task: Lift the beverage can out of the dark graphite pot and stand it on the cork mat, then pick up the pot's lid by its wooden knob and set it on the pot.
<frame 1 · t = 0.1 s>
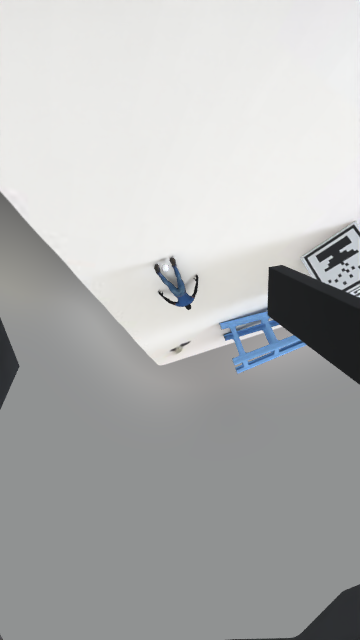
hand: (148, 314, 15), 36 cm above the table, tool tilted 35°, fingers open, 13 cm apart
person figurine: (174, 278, 74), on the table
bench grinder: (280, 309, 107), on the table
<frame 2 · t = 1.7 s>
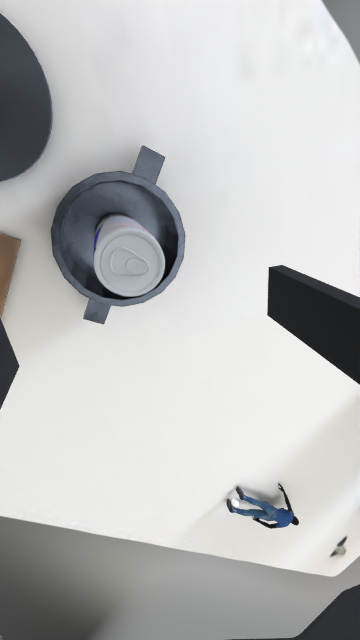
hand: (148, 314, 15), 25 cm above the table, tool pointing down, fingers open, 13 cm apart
person figurine: (258, 497, 66), on the table
beverage can: (118, 236, 36), resting on pot
pot: (118, 236, 36), on the table
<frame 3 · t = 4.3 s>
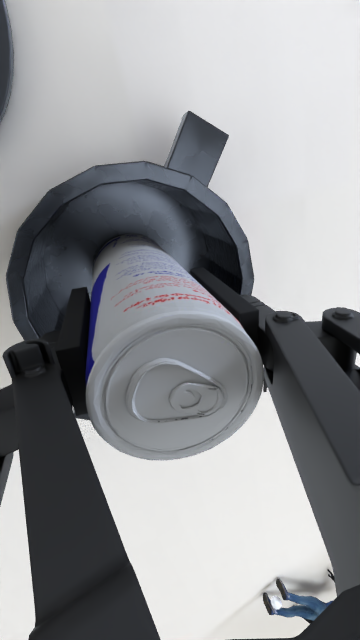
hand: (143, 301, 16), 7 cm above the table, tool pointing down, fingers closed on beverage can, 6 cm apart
person figurine: (301, 585, 52), on the table
beverage can: (131, 271, 22), resting on pot, touching gripper
pot: (131, 270, 22), on the table
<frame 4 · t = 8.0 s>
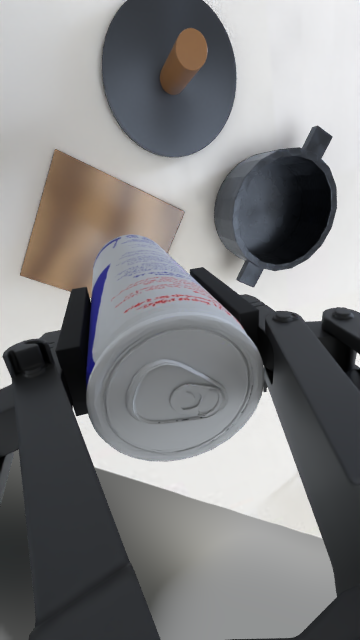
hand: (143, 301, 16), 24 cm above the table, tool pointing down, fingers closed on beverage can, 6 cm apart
beverage can: (131, 271, 22), point 17 cm above the table, touching gripper
lid: (171, 80, 32), point 1 cm above the table
pot: (261, 210, 41), on the table
cork mat: (104, 242, 38), on the table
when the fingers open (7 cm above the table, at t = 12.1 s): beverage can stays where it is, resting on cork mat.
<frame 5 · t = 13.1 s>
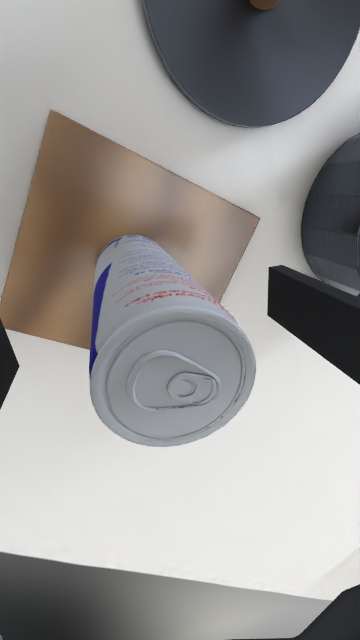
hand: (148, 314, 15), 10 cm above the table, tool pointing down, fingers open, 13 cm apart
beverage can: (132, 270, 23), resting on cork mat
cork mat: (131, 268, 23), on the table
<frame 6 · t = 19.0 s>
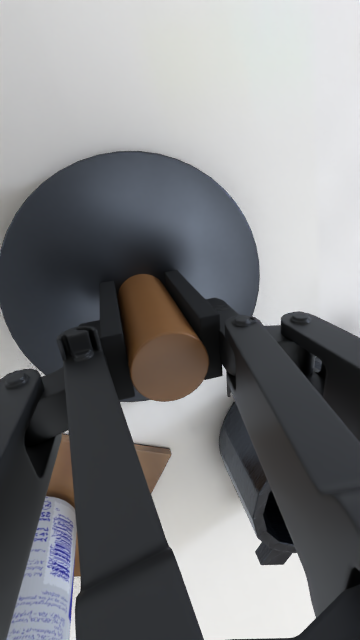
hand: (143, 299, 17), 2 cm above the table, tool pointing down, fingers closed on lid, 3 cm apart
beverage can: (39, 514, 23), resting on cork mat
lid: (141, 294, 17), point 1 cm above the table, touching gripper
pot: (291, 424, 26), on the table
cork mat: (39, 508, 23), on the table
when the fingers open (7 cm above the table, at t = 25.8 s): lid stays where it is, resting on pot.
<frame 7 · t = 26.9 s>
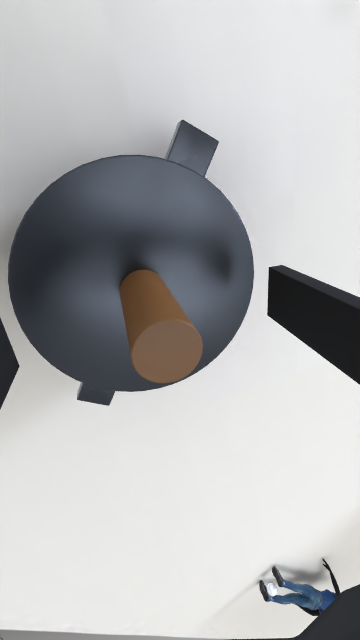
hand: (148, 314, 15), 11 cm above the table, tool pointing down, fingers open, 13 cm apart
person figurine: (297, 575, 53), on the table
lid: (141, 289, 18), point 6 cm above the table, touching pot
pot: (131, 265, 24), on the table
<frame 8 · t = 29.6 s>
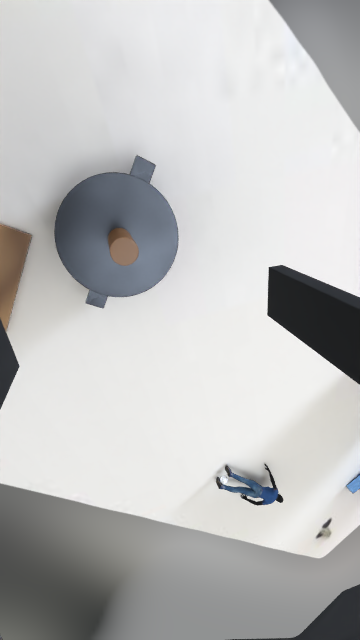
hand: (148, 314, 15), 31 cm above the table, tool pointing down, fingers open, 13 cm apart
person figurine: (246, 476, 71), on the table
lid: (119, 239, 36), point 6 cm above the table, touching pot
pot: (116, 232, 42), on the table
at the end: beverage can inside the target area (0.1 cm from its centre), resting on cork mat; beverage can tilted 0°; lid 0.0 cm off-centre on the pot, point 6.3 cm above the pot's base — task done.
